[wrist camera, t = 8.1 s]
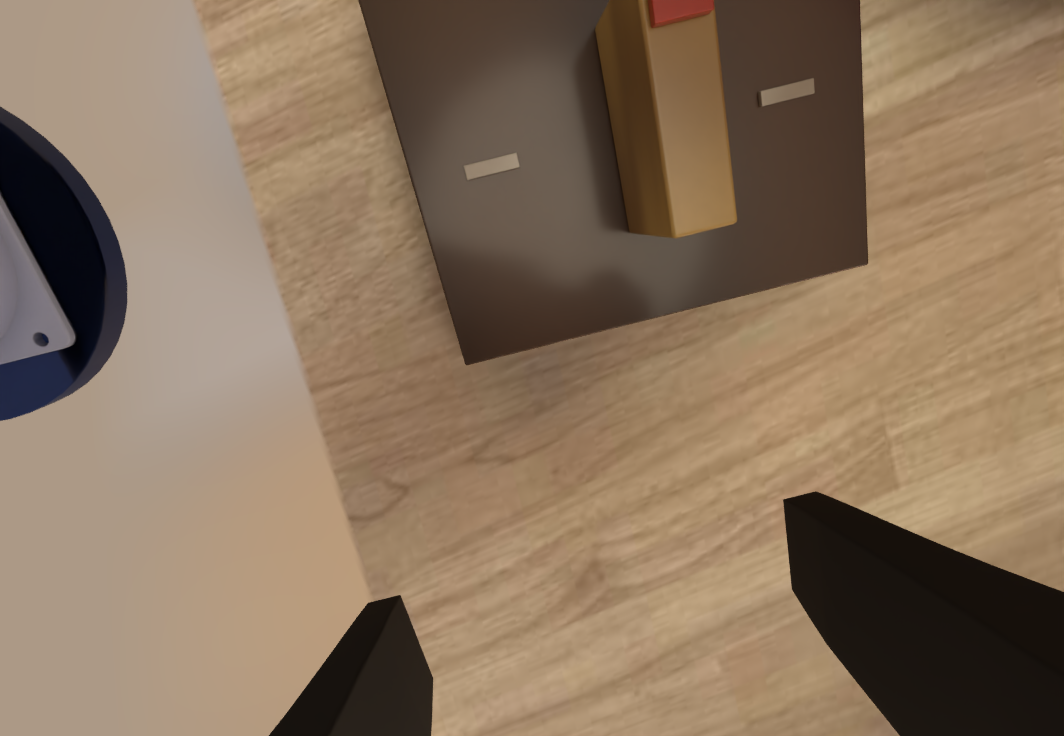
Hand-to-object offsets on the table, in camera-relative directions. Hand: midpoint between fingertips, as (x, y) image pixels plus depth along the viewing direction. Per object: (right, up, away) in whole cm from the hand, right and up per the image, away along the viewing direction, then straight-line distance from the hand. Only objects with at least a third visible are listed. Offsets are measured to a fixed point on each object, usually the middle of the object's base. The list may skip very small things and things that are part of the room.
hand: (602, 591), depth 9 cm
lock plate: (+1, +11, +7) cm, 13 cm away
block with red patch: (+1, +10, +4) cm, 11 cm away
